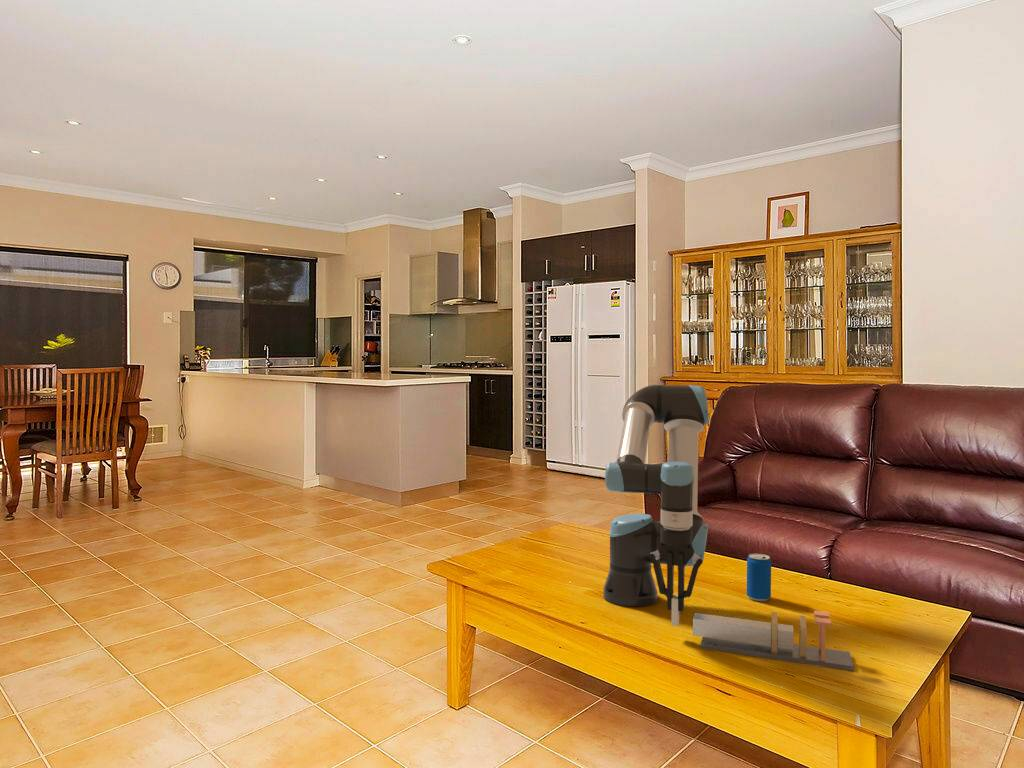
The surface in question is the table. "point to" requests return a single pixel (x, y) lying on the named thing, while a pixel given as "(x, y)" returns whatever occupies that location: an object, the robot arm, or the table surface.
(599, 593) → the table surface
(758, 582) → the beverage can
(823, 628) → the aperture gantry
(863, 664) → the table surface
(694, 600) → the table surface
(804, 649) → the rail
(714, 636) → the pale grey bar
